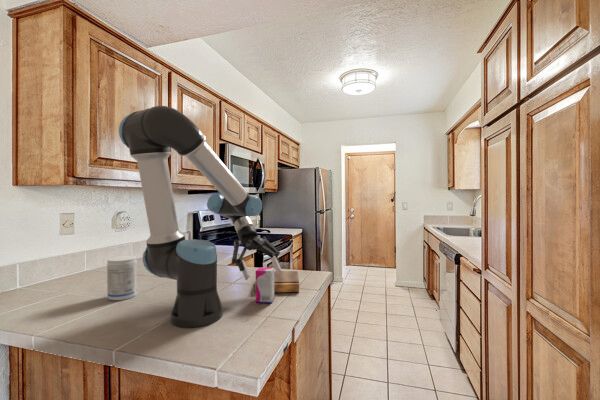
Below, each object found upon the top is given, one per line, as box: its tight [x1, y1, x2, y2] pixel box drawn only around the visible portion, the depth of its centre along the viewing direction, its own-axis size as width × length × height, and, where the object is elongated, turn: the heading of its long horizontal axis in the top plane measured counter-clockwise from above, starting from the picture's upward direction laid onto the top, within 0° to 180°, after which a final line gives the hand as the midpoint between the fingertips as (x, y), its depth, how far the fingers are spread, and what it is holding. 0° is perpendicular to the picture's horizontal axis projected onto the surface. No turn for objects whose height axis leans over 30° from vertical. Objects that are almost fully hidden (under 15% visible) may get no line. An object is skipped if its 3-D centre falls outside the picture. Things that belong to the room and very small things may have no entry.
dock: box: [254, 270, 300, 294], centre depth 118 cm, size 17×18×4 cm
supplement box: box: [255, 266, 275, 305], centre depth 102 cm, size 6×6×12 cm
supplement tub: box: [106, 255, 138, 301], centre depth 106 cm, size 10×10×15 cm
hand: (264, 274), depth 106 cm, fingers open, 13 cm apart
